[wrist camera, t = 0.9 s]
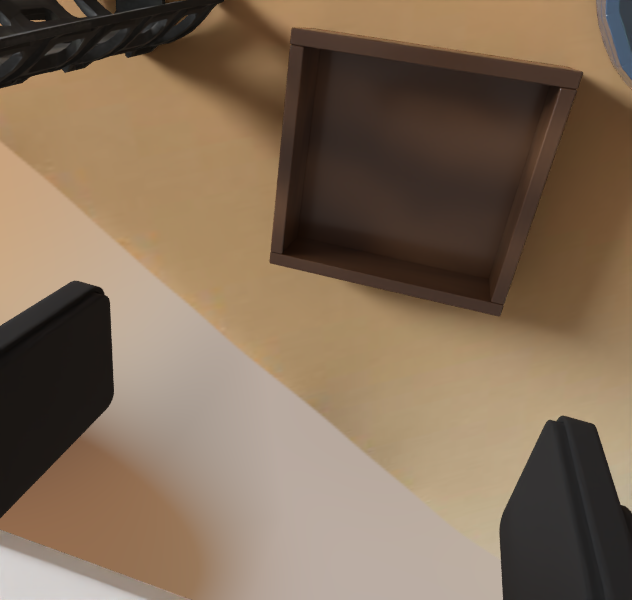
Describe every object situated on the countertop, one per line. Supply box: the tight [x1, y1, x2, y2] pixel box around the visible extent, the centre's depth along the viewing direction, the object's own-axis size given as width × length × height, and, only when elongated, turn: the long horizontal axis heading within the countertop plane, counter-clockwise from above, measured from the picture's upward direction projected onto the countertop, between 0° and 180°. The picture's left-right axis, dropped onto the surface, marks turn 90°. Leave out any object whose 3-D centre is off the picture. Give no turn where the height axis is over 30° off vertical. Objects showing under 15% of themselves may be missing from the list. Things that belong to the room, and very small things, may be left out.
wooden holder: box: [270, 28, 583, 316], centre depth 31 cm, size 14×15×4 cm
